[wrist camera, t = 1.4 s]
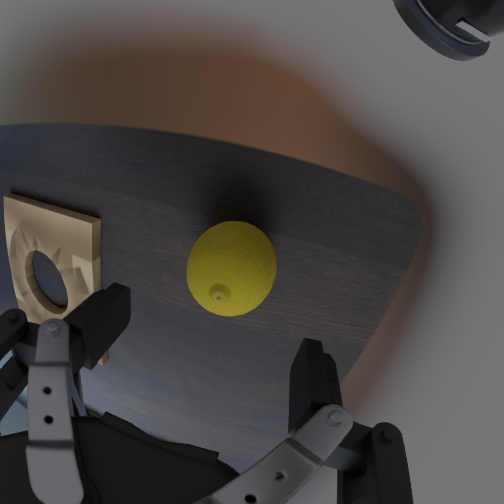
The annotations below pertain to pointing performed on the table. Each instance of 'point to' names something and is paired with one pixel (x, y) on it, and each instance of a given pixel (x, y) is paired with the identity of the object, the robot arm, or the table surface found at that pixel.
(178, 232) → the table surface
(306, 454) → the robot arm
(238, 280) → the lemon
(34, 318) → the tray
